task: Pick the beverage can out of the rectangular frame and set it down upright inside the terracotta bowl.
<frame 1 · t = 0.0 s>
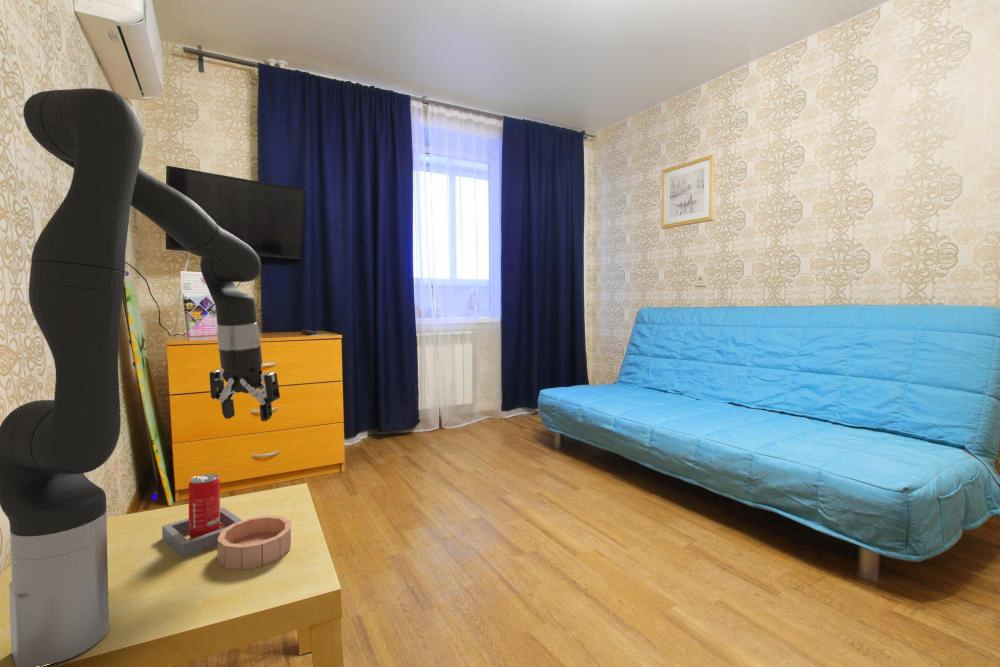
hand: (247, 418, 95), 22 cm above the table, tool pointing down, fingers open, 8 cm apart
beverage can: (204, 537, 89), resting in rectangular frame
bowl: (255, 550, 85), on the table
rectangular frame: (204, 536, 89), on the table
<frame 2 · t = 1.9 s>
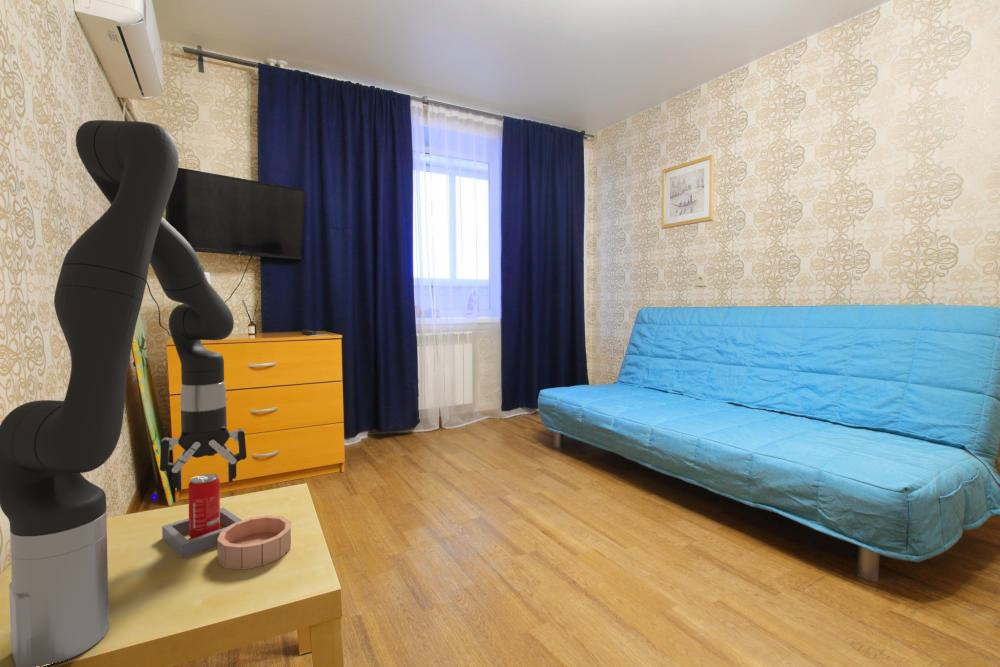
hand: (205, 485, 89), 10 cm above the table, tool pointing down, fingers open, 8 cm apart
nothing on the table moved.
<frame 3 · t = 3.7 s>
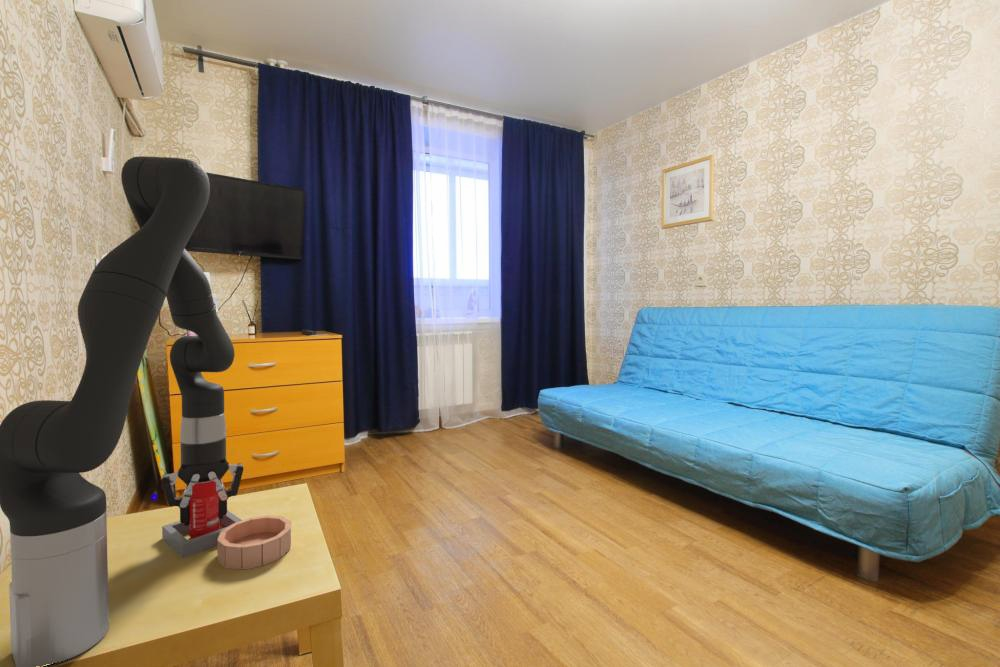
hand: (204, 520, 89), 3 cm above the table, tool pointing down, fingers closed on beverage can, 5 cm apart
beverage can: (204, 537, 89), resting in rectangular frame, touching gripper
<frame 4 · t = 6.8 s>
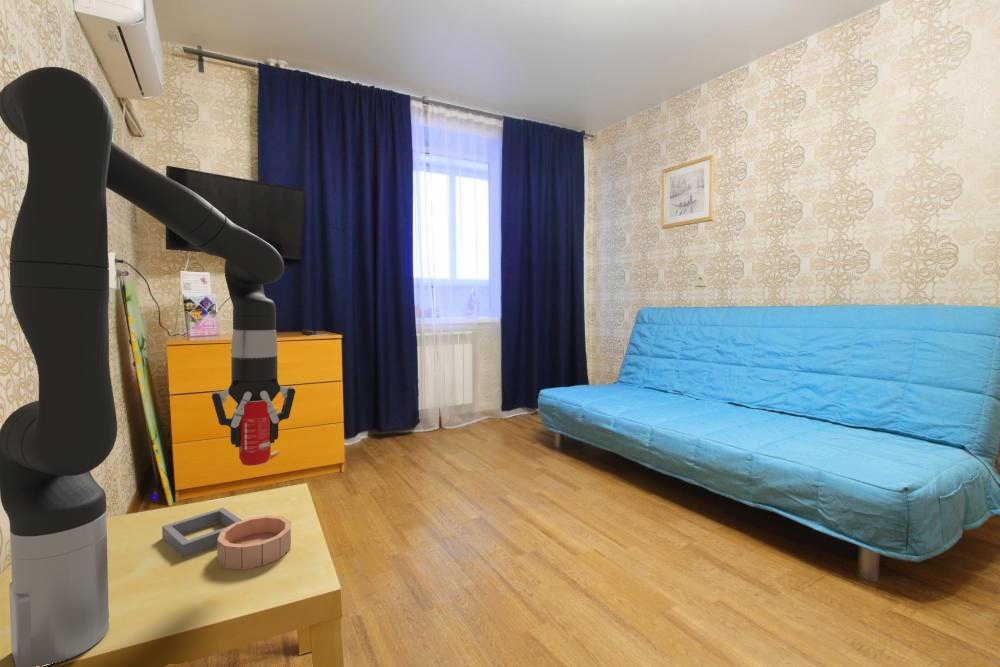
hand: (255, 443, 84), 21 cm above the table, tool pointing down, fingers closed on beverage can, 5 cm apart
beverage can: (255, 462, 84), point 17 cm above the table, touching gripper
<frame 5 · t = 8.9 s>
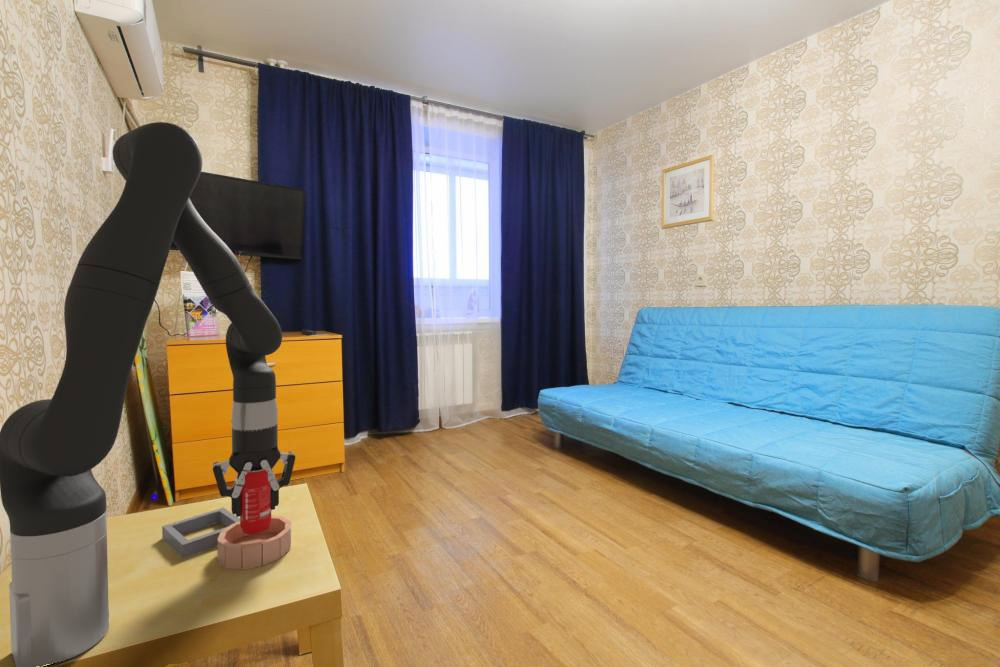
hand: (255, 511, 84), 8 cm above the table, tool pointing down, fingers closed on beverage can, 5 cm apart
beverage can: (256, 529, 85), point 4 cm above the table, touching gripper
when the fingers open (6 cm above the table, at t = 10.3 s): beverage can drops 1 cm, resting on bowl.
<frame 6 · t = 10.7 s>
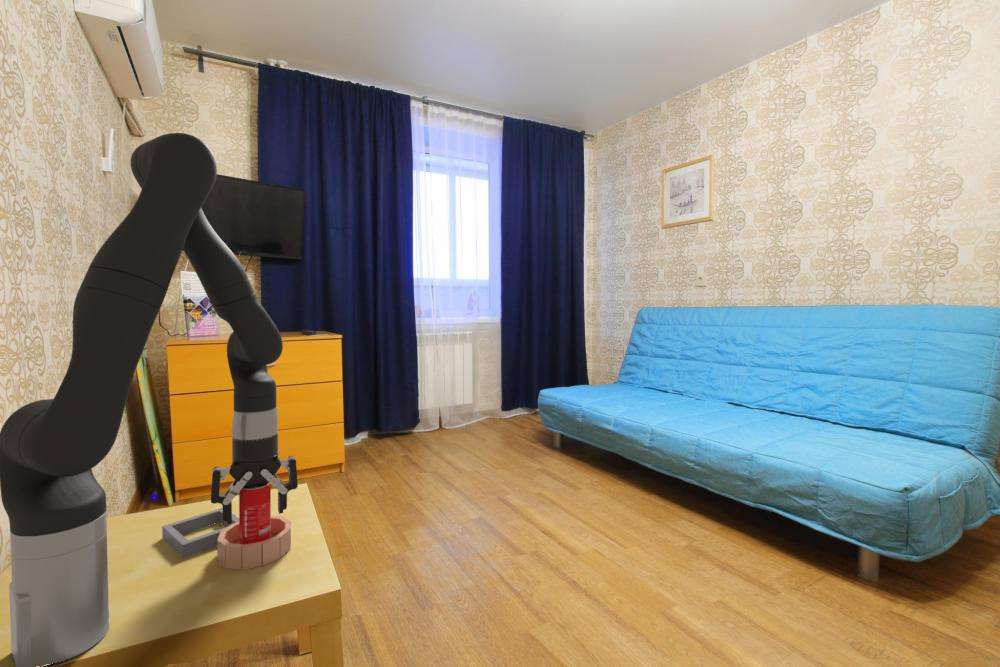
hand: (255, 516, 84), 7 cm above the table, tool pointing down, fingers open, 8 cm apart
beverage can: (255, 546, 85), point 1 cm above the table, touching bowl
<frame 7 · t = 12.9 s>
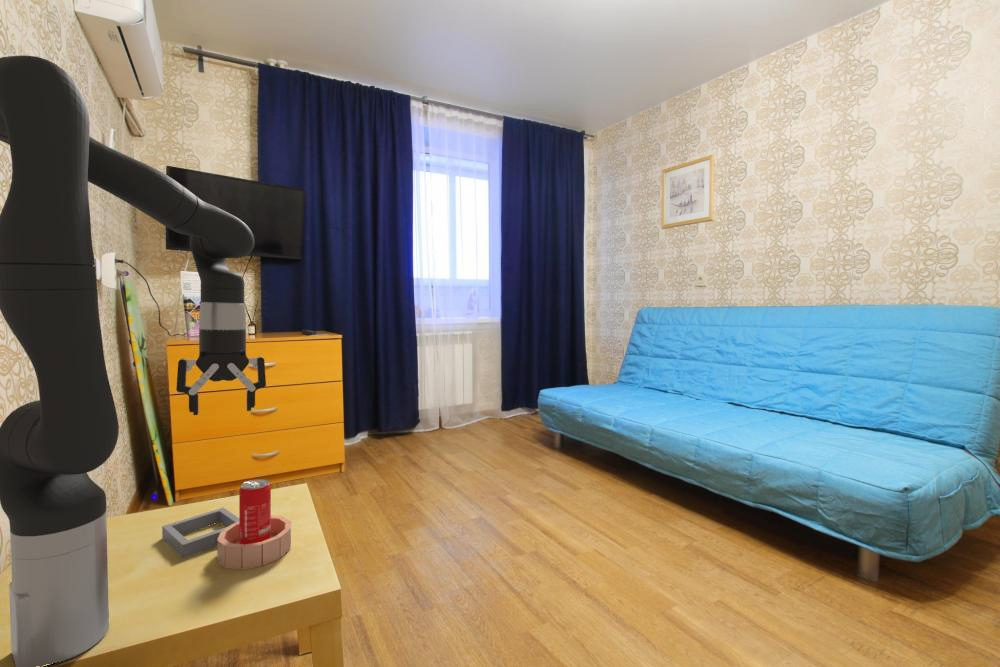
hand: (223, 412, 85), 26 cm above the table, tool pointing down, fingers open, 8 cm apart
nothing on the table moved.
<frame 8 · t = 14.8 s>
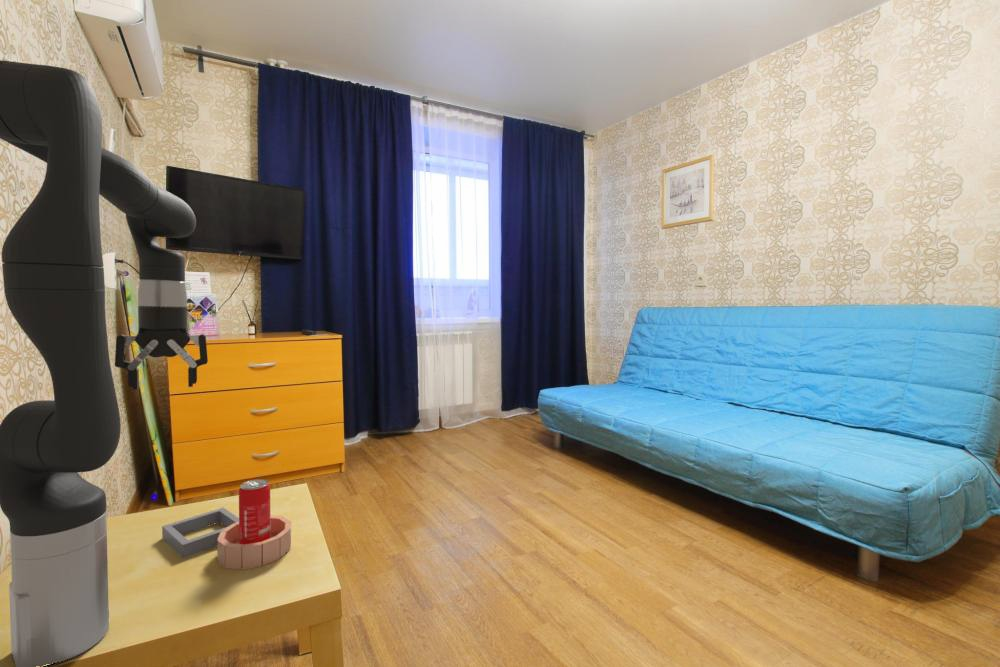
hand: (164, 387, 87), 30 cm above the table, tool pointing down, fingers open, 8 cm apart
nothing on the table moved.
at the end: beverage can 0.1 cm off-centre on the bowl, point 0.8 cm above the bowl's base; beverage can tilted 0°; the gripper is holding nothing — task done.
